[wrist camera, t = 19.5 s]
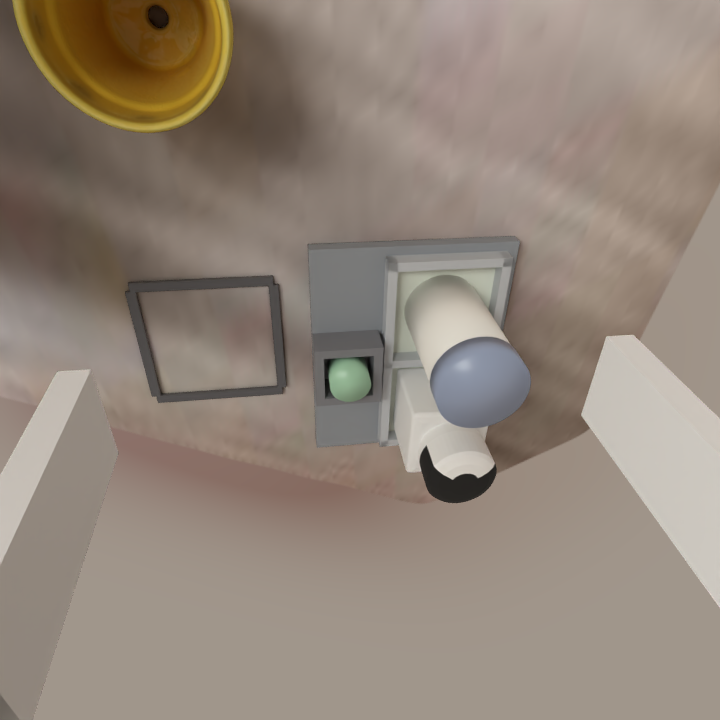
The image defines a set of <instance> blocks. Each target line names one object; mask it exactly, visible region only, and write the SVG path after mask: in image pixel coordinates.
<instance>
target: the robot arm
mask: <svg viewBox="0 0 720 720" xmlns="http://www.w3.org/2000/svg"><path fill="white" fill-rule="evenodd" d="M581 416H582V417H583V419H584V420H585V421H586V423H587V424H588V426H589V427H590V428H591V430H592V431H593V432H594V434H595V435H596V437H597V438H598V439H599V441H600V442H601V444H602V445H603V446H604V448H605V449H606V451H607V452H608V453H609V455H610V456H611V457H612V459H613V460H614V462H615V463H616V464H617V466H618V467H619V469H620V470H621V471H622V473H623V474H624V476H625V477H626V478H627V480H628V481H629V482H630V484H631V485H632V487H633V488H634V489H635V491H636V492H637V494H638V495H639V496H640V498H641V499H642V500H643V502H644V503H645V505H646V506H647V507H648V509H649V510H650V512H651V513H652V514H653V516H654V517H655V519H656V520H657V521H658V523H659V524H660V526H661V527H662V528H663V530H664V531H665V532H666V534H667V535H668V537H669V538H670V539H671V541H672V542H673V544H674V545H675V546H676V548H677V549H678V551H679V552H680V553H681V555H682V556H683V558H684V559H685V560H686V562H687V563H688V564H689V566H690V567H691V569H692V570H693V571H694V573H695V574H696V575H697V577H698V578H699V580H700V581H701V582H702V584H703V585H704V587H705V588H706V589H707V591H708V592H709V594H710V595H711V596H712V598H713V599H714V601H715V602H716V603H717V605H718V606H719V607H720V418H718V416H717V415H716V414H714V413H713V412H712V411H711V410H710V409H709V408H708V407H707V406H706V405H705V404H704V403H703V402H702V401H701V400H700V399H699V398H698V397H697V396H696V395H695V394H694V393H693V392H692V391H691V390H690V389H689V388H688V387H687V386H685V384H684V383H682V382H681V381H680V380H679V379H678V378H677V377H676V376H675V375H674V374H673V373H672V372H671V371H670V370H669V369H668V368H667V367H666V366H665V365H664V364H663V363H662V362H661V361H660V360H659V359H658V358H657V357H656V356H655V355H654V354H653V353H652V352H650V351H649V350H648V349H647V348H646V347H645V346H644V345H643V344H642V343H641V342H640V341H639V340H638V339H637V338H636V337H635V336H634V335H621V336H606V340H605V343H604V346H603V349H602V352H601V355H600V358H599V361H598V364H597V367H596V371H595V374H594V377H593V380H592V383H591V386H590V389H589V392H588V395H587V399H586V402H585V405H584V408H583V411H582V414H581ZM117 457H118V450H117V447H116V444H115V440H114V438H113V434H112V431H111V428H110V425H109V422H108V419H107V416H106V413H105V410H104V407H103V404H102V401H101V398H100V395H99V392H98V389H97V386H96V383H95V380H94V377H93V374H92V371H91V369H88V370H72V371H57V373H56V374H55V376H54V378H53V380H52V382H51V384H50V385H49V387H48V389H47V391H46V393H45V395H44V396H43V398H42V400H41V402H40V404H39V405H38V407H37V409H36V411H35V413H34V415H33V416H32V418H31V420H30V422H29V424H28V426H27V428H26V429H25V431H24V433H23V435H22V436H21V438H20V440H19V442H18V444H17V446H16V447H15V449H14V451H13V453H12V455H11V457H10V458H9V460H8V462H7V464H6V466H5V468H4V469H3V471H2V473H1V475H0V720H33V717H34V714H35V711H36V708H37V705H38V702H39V699H40V696H41V693H42V689H43V686H44V683H45V680H46V677H47V674H48V671H49V667H50V664H51V661H52V658H53V655H54V652H55V649H56V646H57V643H58V640H59V636H60V634H61V630H62V627H63V624H64V621H65V618H66V615H67V612H68V609H69V606H70V603H71V599H72V596H73V593H74V590H75V587H76V584H77V581H78V578H79V574H80V571H81V568H82V565H83V562H84V559H85V556H86V553H87V550H88V547H89V544H90V540H91V537H92V534H93V531H94V528H95V525H96V521H97V519H98V516H99V512H100V509H101V506H102V503H103V500H104V497H105V494H106V491H107V488H108V485H109V481H110V478H111V475H112V472H113V469H114V466H115V463H116V460H117Z"/></svg>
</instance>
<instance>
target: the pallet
mask: <svg viewBox="0 0 720 720" xmlns="http://www.w3.org/2000/svg"><path fill="white" fill-rule="evenodd" d="M519 243H520V241H519V240H518V239H517V238H516V237H515V236H505V237H479V238H454V239H429V240H403V241H378V242H353V243H327V244H308V261H309V285H310V308H311V332H312V355H313V379H314V402H315V426H316V444H317V447H329V446H341V445H353V444H365V443H377V442H379V445H380V447H383V446H395V445H399V443H398V440H397V436H396V433H395V429H394V426H393V417H394V406H395V395H396V384H397V373H398V370H399V369H407V368H424V367H423V365H422V362H421V360H420V357H419V354H418V352H417V349H416V347H415V344H414V342H413V339H412V336H411V334H410V331H409V329H408V326H407V324H406V321H405V316H404V311H405V305H406V302H407V299H408V298H409V296H410V294H411V293H412V292H413V290H414V289H415V288H416V287H417V286H419V285H420V284H421V283H423V282H424V281H426V280H428V279H430V278H432V277H435V276H439V275H455V276H459V277H461V278H464V279H465V280H467V281H468V282H469V283H470V284H471V285H472V286H473V287H474V289H475V290H476V292H477V293H478V295H479V296H480V298H481V299H482V301H483V303H484V304H485V306H486V307H487V309H488V310H489V312H490V313H491V315H492V317H493V318H494V320H495V321H496V323H497V324H498V326H499V327H500V329H501V331H502V332H503V327H504V321H505V316H506V311H507V306H508V301H509V295H510V290H511V285H512V280H513V275H514V269H515V264H516V259H517V254H518V249H519ZM350 357H364V358H365V360H366V364H367V368H368V372H369V376H370V380H371V388H370V390H369V392H368V393H367V395H366V396H364V397H363V398H362V399H360V400H357V401H353V402H344V401H341V400H338V399H337V398H335V397H334V396H333V394H332V393H331V390H330V383H329V377H328V370H327V365H328V361H329V359H334V358H350Z"/></svg>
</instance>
